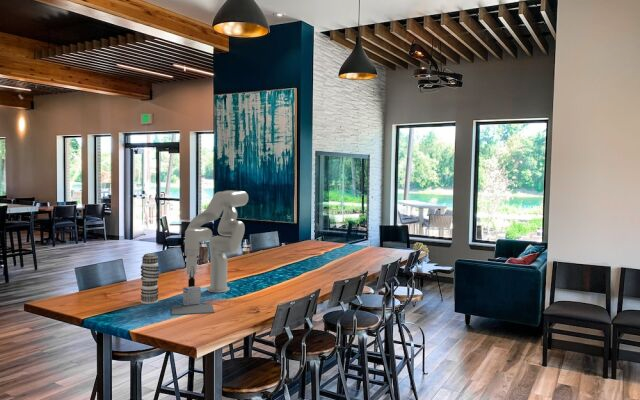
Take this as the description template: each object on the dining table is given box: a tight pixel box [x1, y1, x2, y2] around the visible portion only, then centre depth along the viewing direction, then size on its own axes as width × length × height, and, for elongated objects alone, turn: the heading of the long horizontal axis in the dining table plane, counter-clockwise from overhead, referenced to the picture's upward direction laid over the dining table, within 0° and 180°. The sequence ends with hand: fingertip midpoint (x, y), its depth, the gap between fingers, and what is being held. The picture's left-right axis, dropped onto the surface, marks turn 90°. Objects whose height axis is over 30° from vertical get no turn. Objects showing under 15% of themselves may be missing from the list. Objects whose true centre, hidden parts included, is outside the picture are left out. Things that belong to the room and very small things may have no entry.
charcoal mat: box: [170, 303, 215, 316], centre depth 236 cm, size 14×20×1 cm
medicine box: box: [182, 285, 202, 306], centre depth 245 cm, size 8×4×9 cm, turn 141°
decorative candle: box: [140, 252, 160, 305], centre depth 248 cm, size 9×9×25 cm
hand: (191, 286), depth 252 cm, fingers closed
